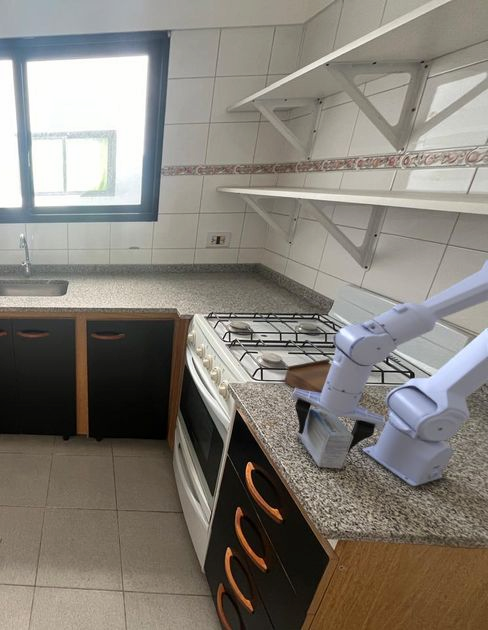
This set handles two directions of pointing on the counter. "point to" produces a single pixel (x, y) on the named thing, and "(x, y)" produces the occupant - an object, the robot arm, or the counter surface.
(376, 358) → the robot arm
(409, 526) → the counter surface
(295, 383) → the wooden display riser
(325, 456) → the medicine box
